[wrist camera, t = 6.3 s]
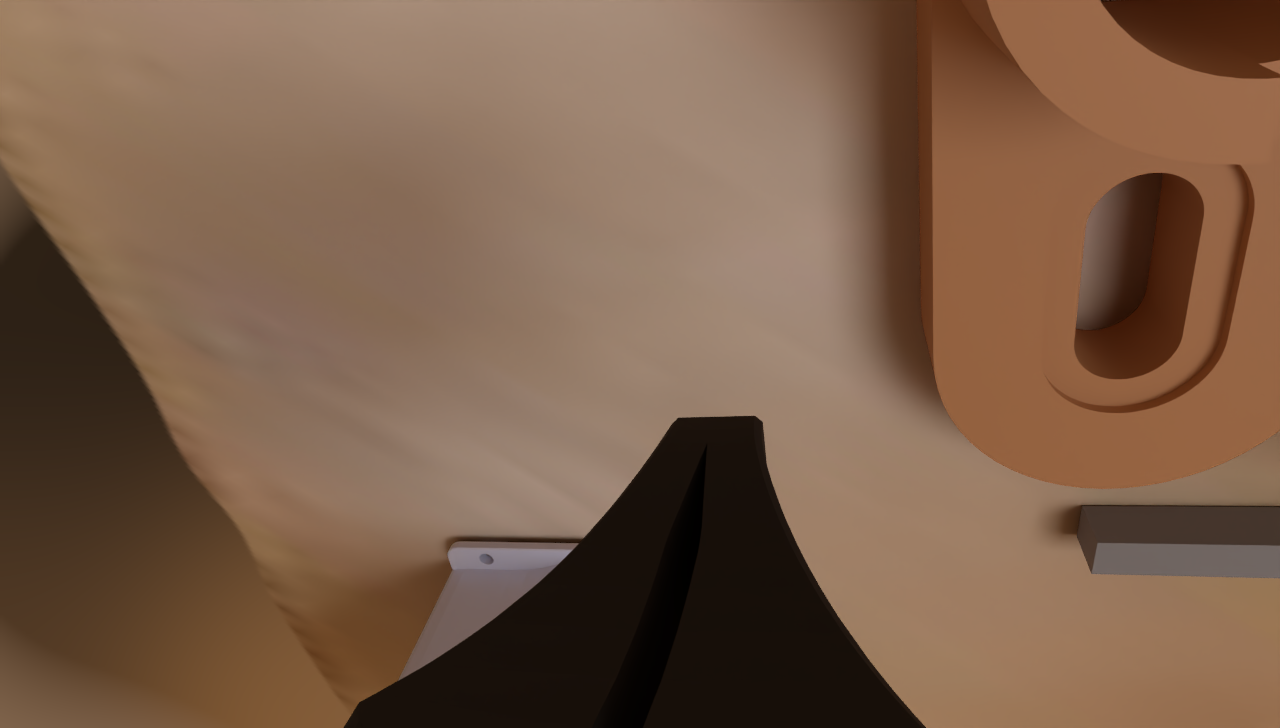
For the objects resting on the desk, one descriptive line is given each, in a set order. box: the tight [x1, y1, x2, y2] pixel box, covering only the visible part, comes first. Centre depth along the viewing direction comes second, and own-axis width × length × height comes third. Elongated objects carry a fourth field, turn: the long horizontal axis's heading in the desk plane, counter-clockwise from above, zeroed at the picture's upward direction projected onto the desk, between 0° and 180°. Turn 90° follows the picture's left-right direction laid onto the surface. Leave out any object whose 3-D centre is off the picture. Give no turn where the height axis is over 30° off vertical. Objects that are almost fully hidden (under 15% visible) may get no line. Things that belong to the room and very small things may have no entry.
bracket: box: [916, 0, 1280, 489], centre depth 15 cm, size 18×8×7 cm, turn 12°
